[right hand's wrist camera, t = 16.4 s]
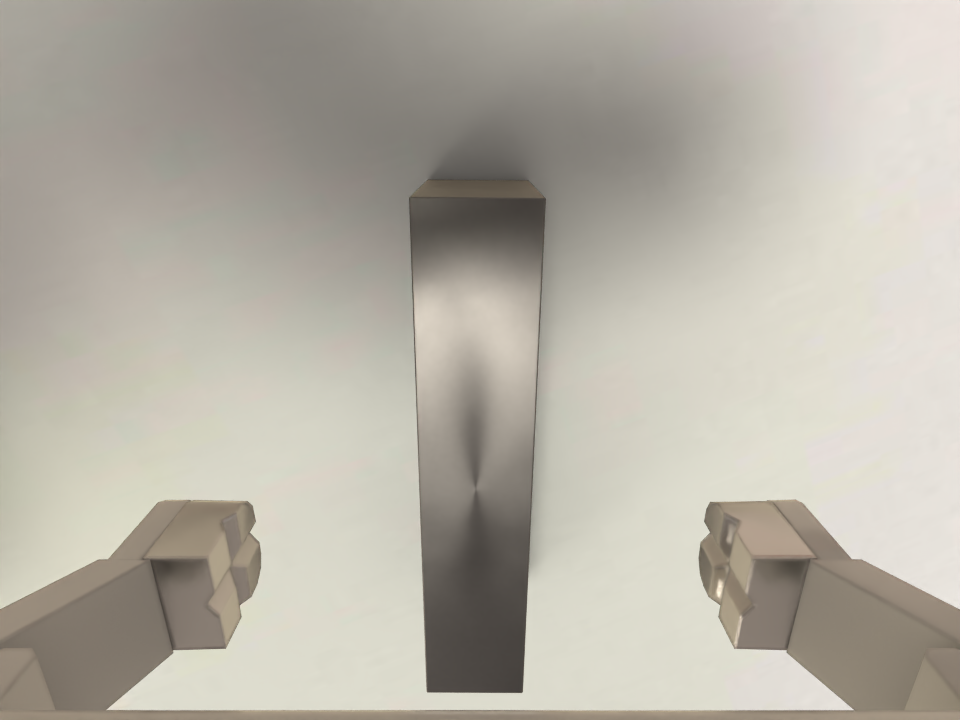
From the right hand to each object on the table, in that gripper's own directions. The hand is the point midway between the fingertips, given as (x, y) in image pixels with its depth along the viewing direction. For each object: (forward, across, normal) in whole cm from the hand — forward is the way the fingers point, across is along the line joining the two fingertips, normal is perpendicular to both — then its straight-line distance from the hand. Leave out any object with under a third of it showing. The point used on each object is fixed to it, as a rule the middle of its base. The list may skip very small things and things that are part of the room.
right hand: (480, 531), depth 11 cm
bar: (+21, 0, -8) cm, 22 cm away
